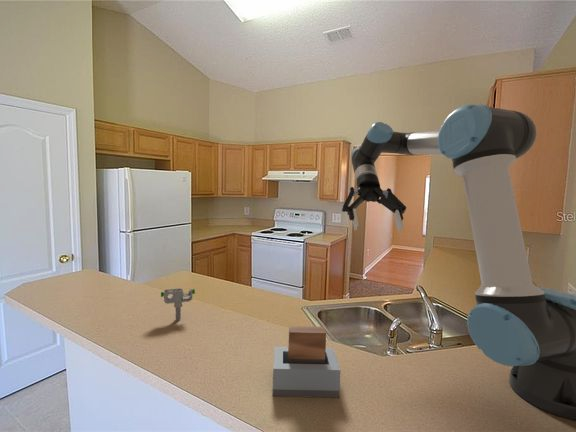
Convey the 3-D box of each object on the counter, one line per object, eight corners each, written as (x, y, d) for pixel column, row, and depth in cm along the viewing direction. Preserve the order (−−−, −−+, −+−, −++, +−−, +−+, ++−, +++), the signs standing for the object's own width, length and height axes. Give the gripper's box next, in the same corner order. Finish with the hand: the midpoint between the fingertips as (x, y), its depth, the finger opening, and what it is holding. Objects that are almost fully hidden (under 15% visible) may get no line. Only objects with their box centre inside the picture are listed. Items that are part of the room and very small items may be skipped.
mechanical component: (194, 319, 99) (194, 289, 98) (160, 323, 95) (160, 292, 95) (194, 315, 102) (194, 287, 101) (161, 319, 98) (161, 289, 97)
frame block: (273, 370, 72) (274, 346, 72) (332, 371, 73) (333, 347, 72) (272, 396, 63) (273, 368, 63) (339, 397, 64) (340, 370, 63)
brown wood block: (287, 372, 69) (289, 326, 68) (322, 373, 69) (324, 326, 69) (287, 380, 66) (289, 332, 65) (324, 381, 66) (326, 333, 66)
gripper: (398, 189, 109) (414, 236, 95) (330, 187, 108) (335, 234, 94) (405, 173, 103) (423, 221, 89) (333, 171, 102) (339, 219, 89)
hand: (378, 228), depth 92 cm, fingers open, 13 cm apart
